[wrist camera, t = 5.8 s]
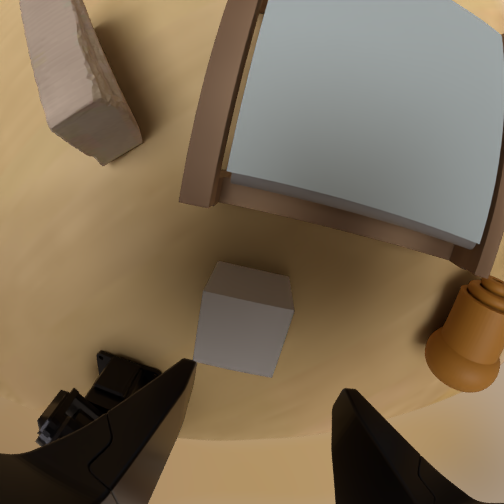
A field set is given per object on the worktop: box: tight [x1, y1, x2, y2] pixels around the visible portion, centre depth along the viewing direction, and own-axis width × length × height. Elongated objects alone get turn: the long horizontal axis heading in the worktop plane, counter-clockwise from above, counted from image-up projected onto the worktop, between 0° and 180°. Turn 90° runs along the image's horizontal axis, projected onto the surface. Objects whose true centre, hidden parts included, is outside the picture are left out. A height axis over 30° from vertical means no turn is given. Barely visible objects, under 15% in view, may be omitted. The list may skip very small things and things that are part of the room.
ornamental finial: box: [425, 276, 504, 392], centre depth 17 cm, size 8×8×8 cm
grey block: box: [20, 0, 143, 166], centre depth 12 cm, size 12×4×10 cm, turn 26°
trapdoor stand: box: [179, 0, 504, 279], centre depth 13 cm, size 15×14×8 cm
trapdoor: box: [227, 0, 504, 250], centre depth 9 cm, size 12×12×1 cm
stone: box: [193, 261, 295, 378], centre depth 19 cm, size 5×5×5 cm
